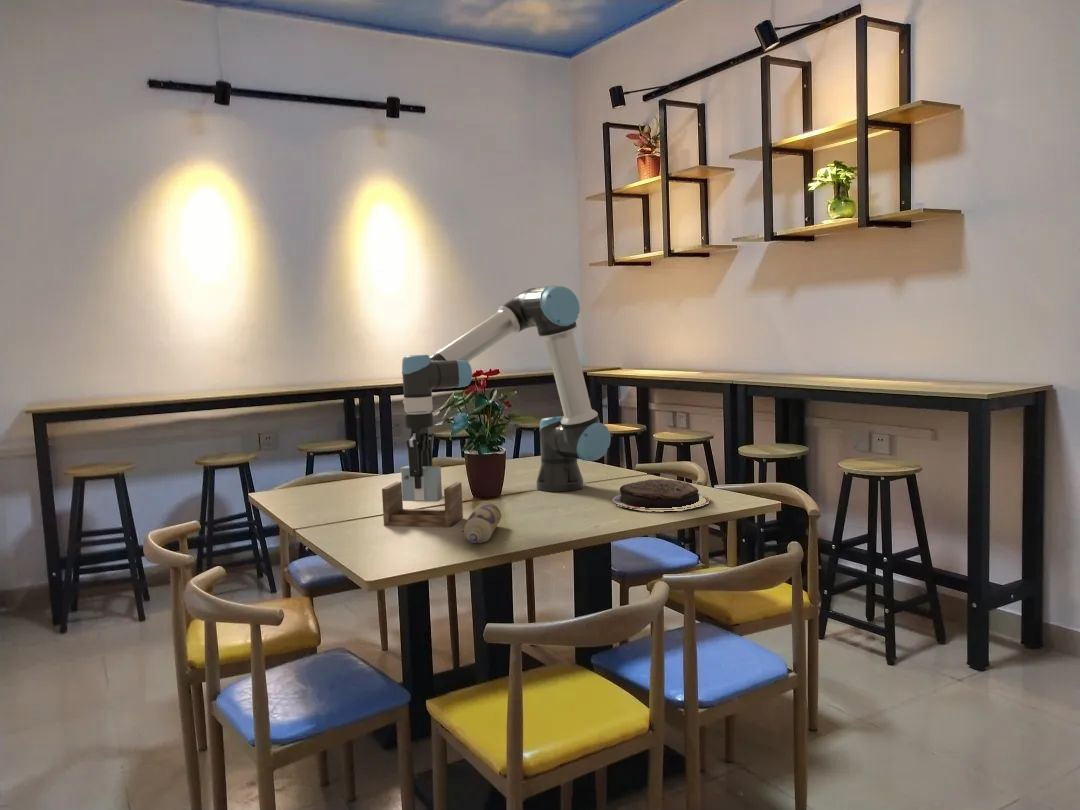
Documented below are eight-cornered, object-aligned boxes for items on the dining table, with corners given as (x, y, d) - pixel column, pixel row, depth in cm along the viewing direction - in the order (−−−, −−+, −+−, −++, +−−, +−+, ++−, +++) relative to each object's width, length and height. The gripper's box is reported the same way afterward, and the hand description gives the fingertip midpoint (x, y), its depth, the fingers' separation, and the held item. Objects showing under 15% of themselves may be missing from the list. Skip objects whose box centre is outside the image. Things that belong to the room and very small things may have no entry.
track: (463, 518, 231) (461, 482, 230) (451, 526, 221) (449, 489, 220) (398, 517, 235) (396, 481, 234) (383, 525, 226) (381, 488, 225)
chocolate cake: (730, 502, 240) (730, 480, 240) (663, 519, 223) (663, 494, 222) (658, 490, 262) (658, 469, 262) (592, 504, 245) (591, 482, 244)
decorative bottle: (473, 527, 221) (472, 502, 220) (502, 526, 220) (501, 501, 220) (454, 553, 195) (453, 524, 195) (486, 552, 195) (485, 524, 194)
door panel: (442, 498, 228) (440, 466, 228) (436, 502, 224) (435, 468, 223) (407, 498, 231) (406, 465, 230) (401, 501, 226) (400, 468, 226)
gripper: (416, 409, 235) (420, 492, 237) (393, 416, 218) (397, 504, 221) (442, 409, 233) (446, 492, 235) (420, 415, 217) (424, 505, 219)
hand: (422, 498), depth 228 cm, fingers closed on door panel, 3 cm apart
